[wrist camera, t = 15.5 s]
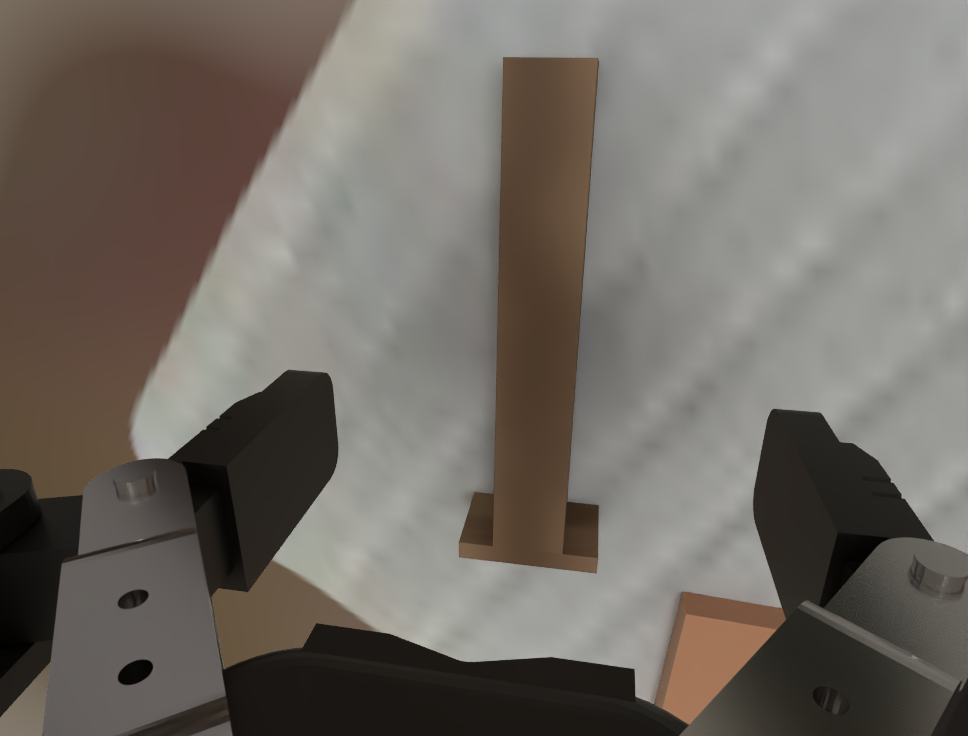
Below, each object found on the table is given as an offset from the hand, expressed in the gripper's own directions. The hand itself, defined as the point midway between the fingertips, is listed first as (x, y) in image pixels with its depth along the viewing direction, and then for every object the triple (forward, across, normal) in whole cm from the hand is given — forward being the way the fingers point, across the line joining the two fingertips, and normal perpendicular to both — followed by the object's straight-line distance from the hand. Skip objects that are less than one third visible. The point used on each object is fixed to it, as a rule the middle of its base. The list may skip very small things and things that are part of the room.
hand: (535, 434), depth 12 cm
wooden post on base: (+16, +1, +3) cm, 17 cm away
